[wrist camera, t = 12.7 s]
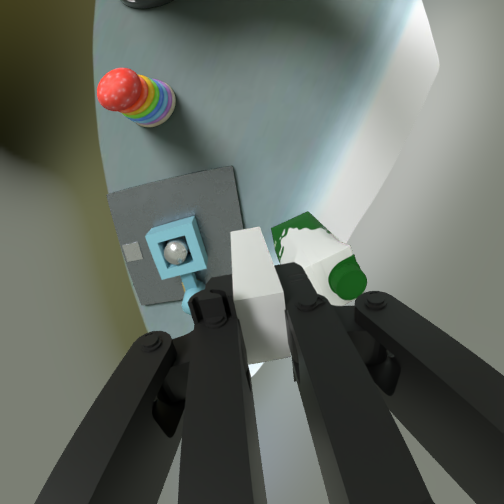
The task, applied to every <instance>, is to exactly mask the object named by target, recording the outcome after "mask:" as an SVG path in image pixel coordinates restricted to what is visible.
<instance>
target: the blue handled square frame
mask: <svg viewBox="0 0 504 504" xmlns="http://www.w3.org/2000/svg"><path fill="white" fill-rule="evenodd" d="M184 235H185V237H186V240H187V243H188V246H189V249H190V252H191V254H187V256H186V259H185V260H184V262H182V263H181V264H177V265H176V264H171V263H169V262H168V261H167V260H166V259H165V257H164V249H165V247H166V246H167V244H166V240H170V239H173V238H177V237H180V236H184ZM145 238H146V241H147V243H148V246H149V249H150V251H151V254H152V257H153V259H154V262H155V264H156V267H157V269H158V272H159V274H160V277H161V279H162V280H163V279H167V278H171V277H175V276H179V275H180V277H181V279H182V282H183V285H184V287H185V294H184V298H183V302H182V308H183V310H184V311H185V312H186V313H187V314H189V315H191V312H190V309H189V306H188V303H187V302H188V300H189V299H190V297H191V296H193V295H194V294H195V293H197V292H199V291H201V290H204V289H205V284H204V283H203V282H202V281H200V280H197V279H196V276H195V273H194V272H195V271H199V270H203V269H207V262H208V256H207V253H206V250H205V247H204V244H203V241H202V238H201V234H200V231H199V228H198V225H197V222H196V218H195V216H191V217H188V218H184V219H181V220H177V221H174V222H171V223H167V224H164V225H160V226H157V227H154V228H151V229H150V231H149V232H148V233H147V234H146V236H145Z"/></svg>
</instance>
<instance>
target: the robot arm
mask: <svg viewBox="0 0 504 504" xmlns="http://www.w3.org/2000/svg"><path fill="white" fill-rule="evenodd" d="M120 1H121V2H122V3H124V4H125V5H127V6H129V7H133V8H152V7H156V6H160V5H163V4H166V3H168V2H171V1H173V0H120ZM230 233H231V258H232V274H229V275H223V276H217V277H211V278H210V280H209V281H208V282H207V283H206V286H205V289H204V290H201V291H199V292H197V293H195V294H194V295H193V296H191V297H190V299H189V300H188V302H187V303H188V306H189V309H190V312H191V315H192V318H193V321H194V324H195V325H194V330H193V331H191V332H190V333H188V334H186V335H184V336H181V337H178V338H175V339H172V338H171V336H170V335H169V334H168V333H166V332H163V331H152V332H149V333H146V334H144V335H143V336H141V337H139V338H138V339H137V340H136V341H135V342H134V343H133V345H132V346H131V347H130V349H129V350H128V352H127V353H126V355H125V356H124V358H123V359H122V361H121V362H120V364H119V365H118V367H117V368H116V370H115V371H114V373H113V374H112V376H111V377H110V379H109V380H108V382H107V383H106V385H105V386H104V388H103V389H102V391H101V392H100V394H99V395H98V397H97V398H96V400H95V401H94V403H93V405H92V406H91V408H90V409H89V411H88V412H87V414H86V416H85V417H84V419H83V421H82V422H81V424H80V425H79V427H78V429H77V430H76V432H75V433H74V435H73V437H72V438H71V440H70V442H69V443H68V445H67V447H66V448H65V450H64V452H63V453H62V455H61V457H60V459H59V460H58V462H57V464H56V465H55V467H54V469H53V471H52V472H51V474H50V476H49V478H48V480H47V482H46V483H45V485H44V487H43V489H42V490H41V492H40V494H39V496H38V498H37V500H36V502H35V504H157V502H158V499H159V496H160V494H161V491H162V489H163V486H164V483H165V480H166V478H167V475H168V473H169V470H170V467H171V465H172V462H173V459H174V456H175V454H176V451H177V448H178V446H179V443H180V440H181V438H182V445H181V458H180V474H179V492H178V504H267V499H266V492H265V485H264V477H263V470H262V463H261V456H260V448H259V440H258V432H257V424H256V417H255V408H254V400H253V392H252V384H251V375H250V371H249V367H248V365H249V364H255V363H261V362H267V361H272V360H277V359H283V358H288V357H291V356H290V352H291V355H292V363H293V374H294V381H297V384H298V388H299V391H300V395H301V399H302V402H303V406H304V409H305V413H306V417H307V421H308V424H309V428H310V432H311V436H312V439H313V443H314V447H315V450H316V454H317V457H318V462H319V465H320V469H321V473H322V476H323V480H324V484H325V488H326V491H327V496H328V499H329V503H330V504H435V503H434V502H433V500H432V499H431V497H430V494H429V492H428V490H427V488H426V485H425V483H424V481H423V479H422V476H421V474H420V472H419V470H418V468H417V466H416V464H415V461H414V459H413V457H412V455H411V453H410V451H409V449H408V447H407V445H406V443H405V441H404V439H403V437H402V435H401V433H400V431H399V429H398V427H397V425H396V423H395V421H394V419H393V417H392V415H391V413H390V411H391V412H392V413H393V415H395V417H396V418H397V419H398V420H399V421H400V422H401V423H402V424H403V425H404V426H405V428H406V429H407V430H408V431H409V432H410V433H411V434H412V435H413V436H414V437H415V438H416V439H417V441H419V443H420V444H421V445H422V446H423V447H424V448H425V449H426V450H427V451H428V452H429V453H430V455H432V457H433V458H435V460H436V461H437V462H438V463H439V464H440V465H441V466H442V467H443V468H444V470H445V471H446V472H447V473H448V474H449V475H450V476H451V477H452V478H453V479H454V480H455V481H456V482H457V483H458V485H459V486H460V487H461V488H462V489H463V490H464V491H465V492H466V493H467V494H468V495H469V496H470V497H471V498H472V499H473V501H475V503H476V504H504V376H503V375H502V374H501V373H499V372H498V371H497V370H495V369H494V368H492V367H491V366H490V365H489V364H487V363H486V362H485V361H483V360H482V359H481V358H480V357H478V356H477V355H475V354H474V353H473V352H471V351H470V350H469V349H467V348H466V347H464V346H463V345H462V344H460V343H459V342H458V341H456V340H455V339H453V338H452V337H450V336H449V335H448V334H447V333H445V332H444V331H442V330H441V329H440V328H438V327H437V326H435V325H434V324H432V323H431V322H430V321H428V320H427V319H425V318H424V317H422V316H420V315H419V314H418V313H416V312H415V311H414V310H412V309H411V308H409V307H408V306H406V305H405V304H403V303H402V302H400V301H399V300H397V299H396V298H394V297H393V296H391V295H389V294H387V293H385V292H380V291H369V292H366V293H362V294H361V295H359V296H358V297H357V298H356V300H355V306H336V305H331V304H330V302H329V300H328V299H327V298H326V297H325V296H322V295H320V294H317V292H316V290H315V289H314V287H313V285H312V283H311V281H310V280H309V279H308V276H307V274H306V273H305V271H304V269H303V267H302V266H301V265H299V264H297V263H295V262H291V263H286V264H280V265H275V266H274V264H273V262H272V259H271V256H270V253H269V251H268V248H267V245H266V243H265V240H264V237H263V235H262V232H261V229H260V227H255V228H249V229H243V230H237V231H232V232H230ZM389 410H390V411H389Z"/></svg>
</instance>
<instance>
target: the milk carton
mask: <svg viewBox="0 0 504 504" xmlns="http://www.w3.org/2000/svg"><path fill="white" fill-rule="evenodd" d="M271 230H272V235H273V241H274V246H275V251H276V254H277V257H278V260H279V262H280V264H286V263H291V262H295V263H297V264H299V265H301V266H302V267H303V269H304V271H305V273H306V274H307V276H308V279H309V280H310V281H311V283H312V285H313V287H314V289H315V290H316V292H317V294H320V295H322V296H325V297H326V298H327V299H328V300H329V302H330V304H331V305H336V306H343V305H345V304H347V303H349V302H351V301H353V300H355V299H356V298H357V297H358V296H359V295H361V294H362V293H364V290H365V288H366V285H367V278H366V276H365V274H364V273H363V272H362V271H361V269H360V266H359V265H358V263H357V262H356V259H355V255H354V254H353V252H352V248H351V246H350V245H348V244H345V243H343V242H340V241H339V240H338V239H337V238H336V237H335V236H334V235H333V234H332V233H331V232H330V231H329V230H327V229H326V228H325V227H324V226H323V225H322V224H321V223H320V222H319V221H318V220H317V219H316V218H315V217H314V216H313V215H312V214H310V213H309V212H305V213H303V214H301V215H299V216H297V217H294V218H292V219H290V220H288V221H286V222H284V223H281V224H279V225H277V226H275V227H273V228H271Z"/></svg>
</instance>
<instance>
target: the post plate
mask: <svg viewBox="0 0 504 504" xmlns="http://www.w3.org/2000/svg"><path fill="white" fill-rule="evenodd" d="M107 199H108V203H109V207H110V211H111V214H112V218H113V222H114V225H115V229H116V232H117V235H118V239H119V242H120V245H121V248H122V252H123V255H124V258H125V261H126V264H127V267H128V270H129V273H130V275H131V278H132V281H133V284H134V287H135V289H136V292H137V295H138V297H139V300H140V303H141V305H148V304H155V303H162V302H169V301H175V300H182V299H183V298H184V294H185V287H184V285H183V282H182V279H181V277H180V275H179V276H175V277H171V278H167V279H163V280H162V279H161V277H160V274H159V272H158V269H157V267H156V264H155V262H154V259H153V257H152V254H151V251H150V249H149V246H148V243H147V241H146V238H145V236H146V234H147V233H148V232H149V231H150V229H151V228H154V227H157V226H160V225H164V224H167V223H171V222H174V221H177V220H181V219H184V218H188V217H191V216H195V218H196V222H197V225H198V228H199V231H200V234H201V238H202V241H203V244H204V247H205V250H206V253H207V256H208V262H207V269H203V270H199V271H195V272H194V273H195V276H196V279H197V280H200V281H202V282H203V283H204V284H205V286H206V283H207V282H208V281H209V280H210V278H211V277H217V276H223V275H229V274H232V258H231V233H230V232H232V231H237V230H243V225H242V219H241V213H240V207H239V201H238V196H237V190H236V184H235V178H234V172H233V166H227V167H221V168H216V169H211V170H206V171H201V172H196V173H191V174H186V175H181V176H177V177H172V178H168V179H164V180H160V181H155V182H151V183H147V184H143V185H139V186H135V187H132V188H128V189H124V190H120V191H117V192H113V193H110V194H107ZM166 244H167V246H166V247H165V249H164V257H165V259H166V260H167V261H168V262H169V263H171V264H176V265H177V264H181V263H182V262H184V260H185V259H186V256H187V254H191V252H190V249H189V246H188V243H187V240H186V237H185V235H184V236H180V237H177V238H173V239H170V240H166Z"/></svg>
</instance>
